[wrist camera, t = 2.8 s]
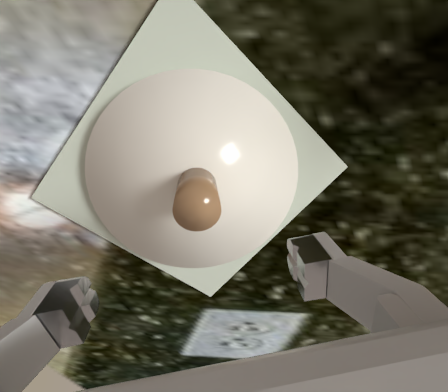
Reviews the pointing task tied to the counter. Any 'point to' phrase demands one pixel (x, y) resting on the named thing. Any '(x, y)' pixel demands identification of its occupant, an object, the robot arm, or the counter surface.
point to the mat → (171, 60)
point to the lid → (191, 168)
